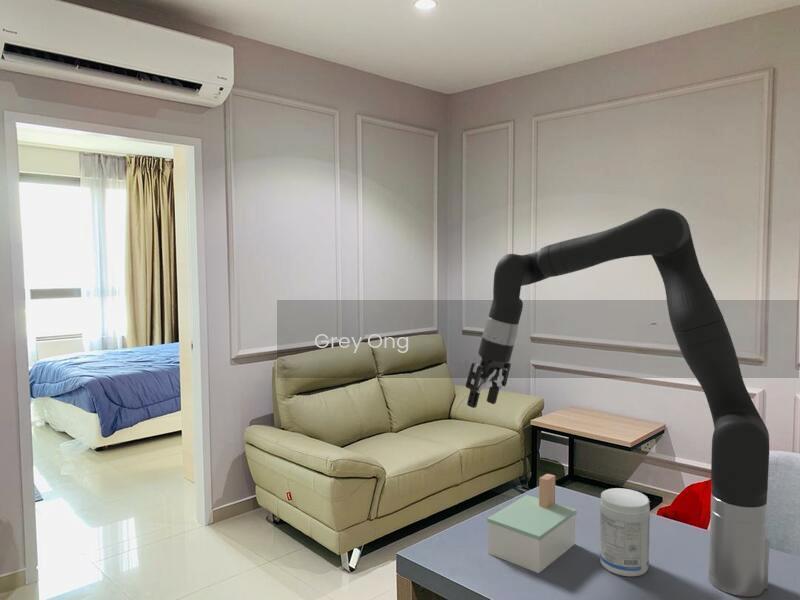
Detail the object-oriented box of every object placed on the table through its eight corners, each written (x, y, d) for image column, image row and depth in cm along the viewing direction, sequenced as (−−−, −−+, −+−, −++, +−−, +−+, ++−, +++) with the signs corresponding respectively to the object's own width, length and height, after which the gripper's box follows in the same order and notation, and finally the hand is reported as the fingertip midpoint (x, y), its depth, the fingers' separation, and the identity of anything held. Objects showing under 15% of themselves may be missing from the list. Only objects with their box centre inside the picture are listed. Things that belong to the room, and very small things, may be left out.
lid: (526, 501, 139) (526, 468, 138) (576, 516, 131) (577, 481, 130) (487, 525, 127) (487, 489, 126) (539, 544, 119) (539, 505, 118)
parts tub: (526, 527, 139) (527, 498, 139) (574, 544, 131) (575, 513, 131) (488, 553, 127) (488, 521, 127) (538, 573, 119) (539, 539, 119)
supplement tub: (615, 549, 129) (616, 483, 127) (657, 567, 121) (659, 497, 120) (589, 564, 122) (590, 495, 121) (632, 584, 115) (634, 510, 114)
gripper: (496, 345, 129) (478, 414, 132) (527, 343, 140) (510, 407, 143) (468, 334, 134) (451, 401, 137) (500, 333, 145) (484, 395, 148)
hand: (481, 404), depth 140 cm, fingers open, 8 cm apart
